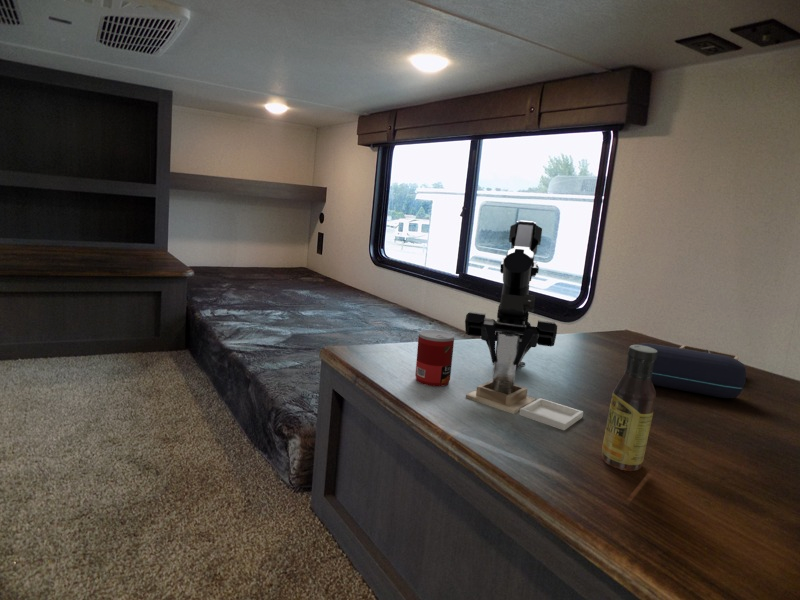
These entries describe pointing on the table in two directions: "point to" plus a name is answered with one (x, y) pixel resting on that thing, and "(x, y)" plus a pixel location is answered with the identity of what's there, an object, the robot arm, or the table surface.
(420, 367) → the canned food
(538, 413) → the tray
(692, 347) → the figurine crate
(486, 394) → the wooden socket base
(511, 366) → the cylinder
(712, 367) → the portable speaker
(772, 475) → the table surface
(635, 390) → the sauce bottle
